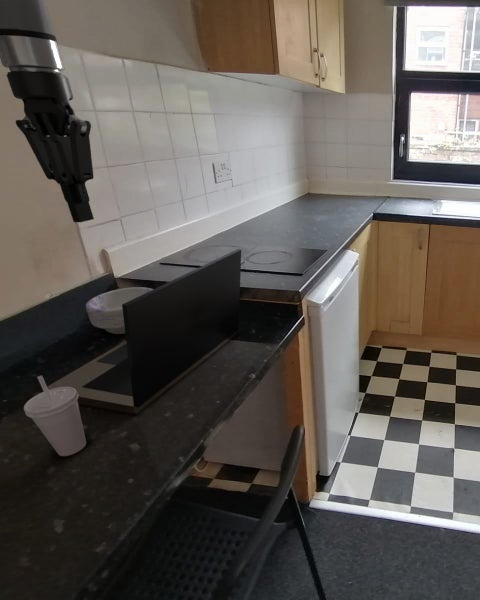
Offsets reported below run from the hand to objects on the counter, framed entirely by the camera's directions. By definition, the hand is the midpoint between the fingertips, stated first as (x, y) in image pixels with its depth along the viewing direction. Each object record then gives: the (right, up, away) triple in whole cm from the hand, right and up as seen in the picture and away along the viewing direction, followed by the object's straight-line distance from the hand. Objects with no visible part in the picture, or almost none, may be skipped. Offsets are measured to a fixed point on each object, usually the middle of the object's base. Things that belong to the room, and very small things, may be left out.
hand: (83, 220), depth 73 cm
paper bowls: (-12, -21, +30) cm, 39 cm away
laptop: (+4, -28, +14) cm, 32 cm away
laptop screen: (+16, -18, +7) cm, 25 cm away
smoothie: (+5, -38, -8) cm, 40 cm away
